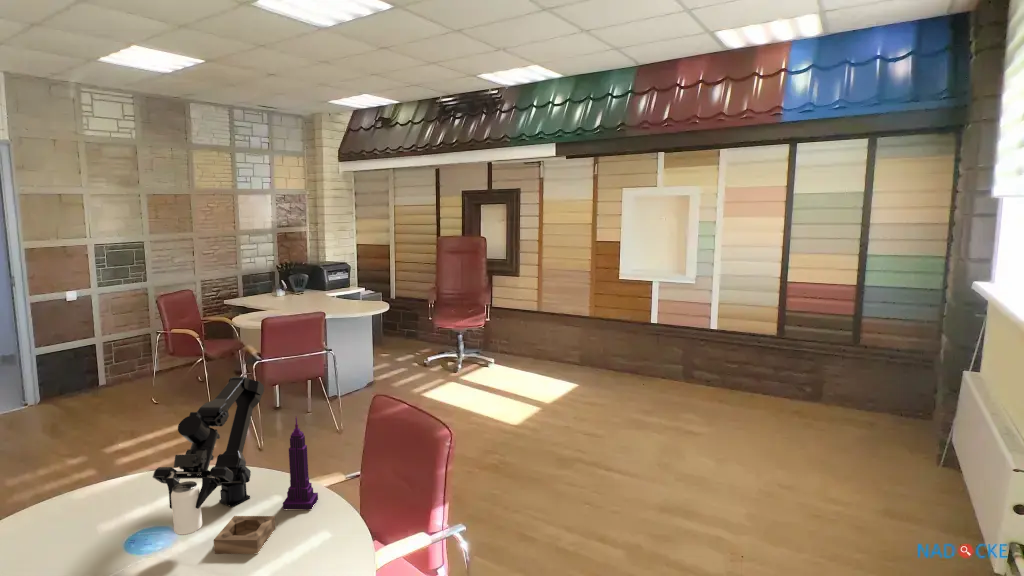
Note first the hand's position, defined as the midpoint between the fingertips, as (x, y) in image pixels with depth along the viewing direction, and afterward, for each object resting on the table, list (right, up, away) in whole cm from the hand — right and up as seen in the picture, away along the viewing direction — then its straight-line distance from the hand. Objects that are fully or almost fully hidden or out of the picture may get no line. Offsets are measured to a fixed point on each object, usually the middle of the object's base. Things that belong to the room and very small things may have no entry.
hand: (184, 508), depth 147 cm
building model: (+20, -10, +27) cm, 35 cm away
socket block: (+12, -12, +8) cm, 19 cm away
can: (0, -7, +2) cm, 7 cm away
